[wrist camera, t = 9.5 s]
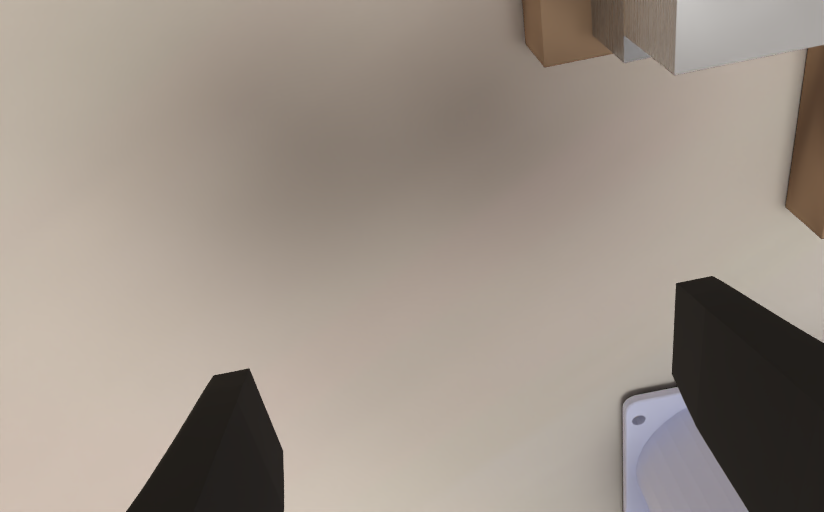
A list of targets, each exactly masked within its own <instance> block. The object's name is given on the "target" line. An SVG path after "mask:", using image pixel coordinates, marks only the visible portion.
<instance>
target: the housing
mask: <svg viewBox="0 0 824 512" xmlns="http://www.w3.org/2000/svg"><path fill="white" fill-rule="evenodd" d="M591 16H592V35H593V36H594V37H595V38H596V39H597V40H599V41H600V42H601V43H602V44H603V45H604V46H605V47H607V48H608V49H609V50H610V51H611V52H612V53H613V54H614V55H616V56H617V57H618V58H619V59H620V60H621V61H622V62H624V63H626V62H631V61H636V60H641V59H646V58H650V57H652V58H653V59H654V60H656V61H657V62H658V63H659V64H661V65H662V66H663V67H665V68H666V69H667V70H668V71H670V72H671V73H672V74H673V75H679V74H684V73H689V72H693V71H698V70H703V69H708V68H713V67H718V66H723V65H728V64H732V63H737V62H742V61H747V60H752V59H757V58H762V57H767V56H772V55H776V54H781V53H786V52H791V51H796V50H801V49H806V48H811V47H815V46H820V45H824V0H591Z"/></svg>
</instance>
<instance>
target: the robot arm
mask: <svg viewBox="0 0 824 512" xmlns="http://www.w3.org/2000/svg"><path fill="white" fill-rule="evenodd" d="M672 375H673V377H674V380H675V382H676V384H677V386H678V387H674V388H669V389H664V390H659V391H654V392H649V393H644V394H639V395H634V396H631V397H630V398H628V399H627V400H626V401H625V402H624V404H623V512H824V343H823V342H821V341H819V340H817V339H816V338H814V337H812V336H811V335H809V334H807V333H805V332H804V331H802V330H800V329H799V328H797V327H795V326H794V325H792V324H790V323H789V322H787V321H785V320H784V319H782V318H781V317H779V316H777V315H776V314H774V313H772V312H771V311H769V310H768V309H766V308H764V307H763V306H761V305H759V304H758V303H756V302H755V301H753V300H751V299H750V298H748V297H747V296H745V295H743V294H742V293H740V292H739V291H737V290H735V289H734V288H732V287H730V286H729V285H727V284H725V283H724V282H722V281H720V280H719V279H717V278H715V277H713V276H710V277H705V278H700V279H695V280H690V281H685V282H680V283H676V297H675V319H674V341H673V362H672ZM636 416H638V417H636ZM126 512H284V469H283V450H282V447H281V445H280V442H279V440H278V437H277V435H276V433H275V430H274V428H273V425H272V423H271V420H270V418H269V415H268V413H267V411H266V408H265V406H264V403H263V401H262V398H261V396H260V393H259V391H258V389H257V386H256V384H255V381H254V379H253V376H252V374H251V372H250V369H244V370H239V371H234V372H229V373H224V374H219V375H214V376H213V377H212V379H211V380H210V382H209V383H208V385H207V386H206V388H205V390H204V391H203V393H202V394H201V396H200V398H199V399H198V401H197V403H196V404H195V406H194V408H193V409H192V411H191V413H190V414H189V416H188V418H187V419H186V421H185V423H184V424H183V426H182V427H181V429H180V431H179V432H178V434H177V436H176V437H175V439H174V440H173V442H172V444H171V445H170V447H169V448H168V450H167V452H166V453H165V455H164V456H163V458H162V459H161V461H160V462H159V464H158V466H157V467H156V469H155V470H154V472H153V473H152V475H151V476H150V478H149V480H148V481H147V483H146V484H145V486H144V487H143V489H142V490H141V491H140V493H139V494H138V496H137V497H136V499H135V500H134V501H133V503H132V504H131V506H130V507H129V508H128V510H127V511H126Z"/></svg>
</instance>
